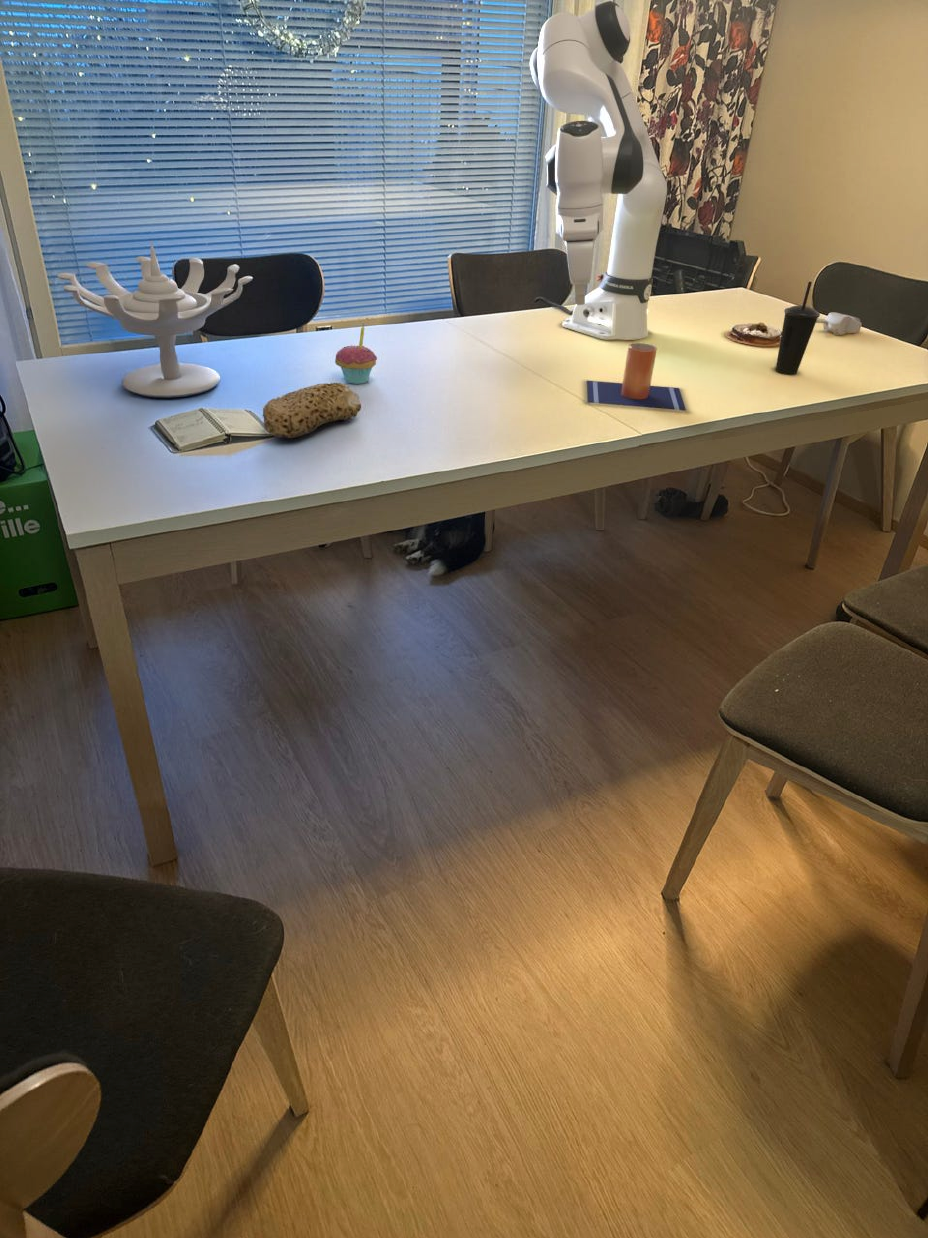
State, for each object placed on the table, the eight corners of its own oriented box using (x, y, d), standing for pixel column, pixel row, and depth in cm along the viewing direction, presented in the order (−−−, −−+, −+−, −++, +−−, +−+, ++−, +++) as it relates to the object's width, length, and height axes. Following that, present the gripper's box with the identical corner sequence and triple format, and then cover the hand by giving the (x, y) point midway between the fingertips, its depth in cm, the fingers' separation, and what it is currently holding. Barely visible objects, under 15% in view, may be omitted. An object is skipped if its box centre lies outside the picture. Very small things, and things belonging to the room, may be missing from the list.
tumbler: (615, 394, 175) (623, 346, 169) (628, 388, 179) (636, 340, 173) (640, 401, 172) (649, 352, 167) (653, 394, 176) (661, 346, 171)
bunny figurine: (872, 319, 225) (840, 317, 217) (865, 338, 228) (832, 338, 220) (843, 310, 231) (810, 309, 223) (836, 329, 234) (803, 328, 226)
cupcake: (383, 377, 178) (382, 320, 171) (366, 389, 171) (365, 330, 165) (346, 371, 180) (344, 314, 174) (328, 383, 174) (326, 324, 167)
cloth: (587, 404, 171) (587, 402, 170) (586, 382, 182) (586, 380, 182) (685, 412, 169) (686, 410, 169) (678, 389, 181) (679, 387, 181)
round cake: (715, 331, 222) (718, 315, 220) (764, 329, 226) (768, 314, 223) (744, 347, 210) (748, 330, 208) (796, 346, 214) (800, 329, 212)
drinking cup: (805, 378, 192) (831, 287, 181) (771, 374, 193) (794, 283, 182) (800, 368, 198) (825, 279, 187) (767, 365, 199) (790, 276, 188)
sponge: (332, 412, 163) (238, 410, 150) (342, 374, 159) (246, 369, 146) (367, 446, 156) (272, 447, 143) (378, 408, 152) (281, 406, 139)
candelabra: (104, 427, 148) (71, 265, 133) (65, 370, 172) (33, 226, 157) (286, 400, 164) (275, 252, 149) (226, 351, 188) (212, 219, 173)
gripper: (563, 213, 166) (564, 286, 174) (562, 232, 150) (563, 312, 157) (594, 211, 165) (594, 284, 173) (597, 230, 149) (597, 310, 156)
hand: (579, 297), depth 165 cm, fingers open, 8 cm apart
